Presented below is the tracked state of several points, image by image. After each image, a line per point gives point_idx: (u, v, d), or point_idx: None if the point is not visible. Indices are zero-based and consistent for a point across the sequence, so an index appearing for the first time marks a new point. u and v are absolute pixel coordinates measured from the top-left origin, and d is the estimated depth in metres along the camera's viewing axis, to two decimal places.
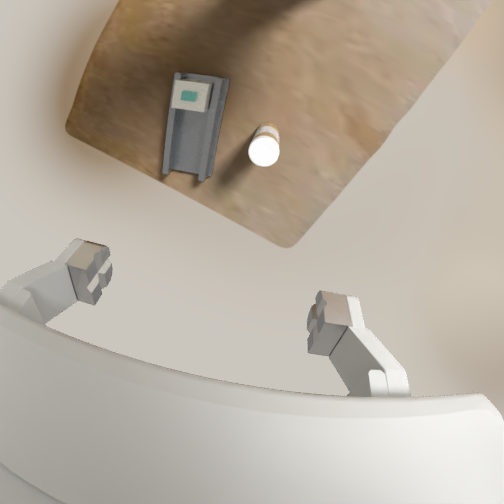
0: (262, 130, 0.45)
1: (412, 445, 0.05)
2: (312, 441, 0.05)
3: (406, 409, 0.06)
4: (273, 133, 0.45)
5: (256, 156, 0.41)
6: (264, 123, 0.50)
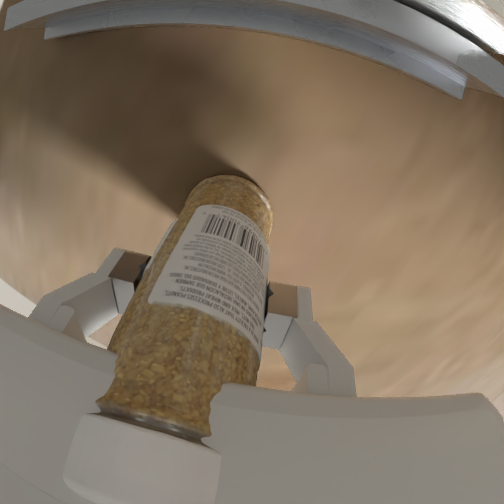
0: (261, 314, 0.08)
1: (412, 445, 0.05)
2: (312, 441, 0.05)
3: (406, 409, 0.06)
4: None
5: None
6: (270, 208, 0.14)
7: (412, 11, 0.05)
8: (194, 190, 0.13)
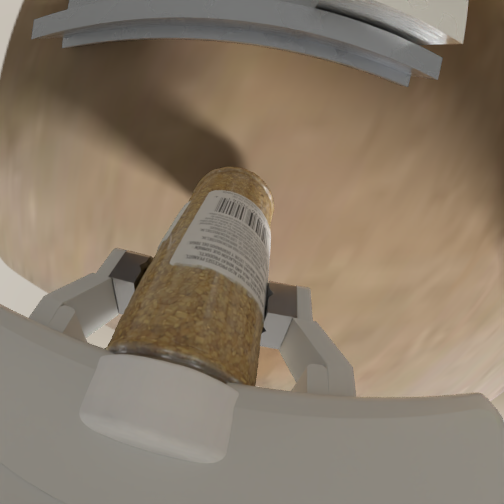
0: (265, 285, 0.10)
1: (412, 445, 0.05)
2: (312, 441, 0.05)
3: (406, 409, 0.06)
4: None
5: None
6: (272, 200, 0.15)
7: (352, 20, 0.08)
8: (203, 179, 0.15)
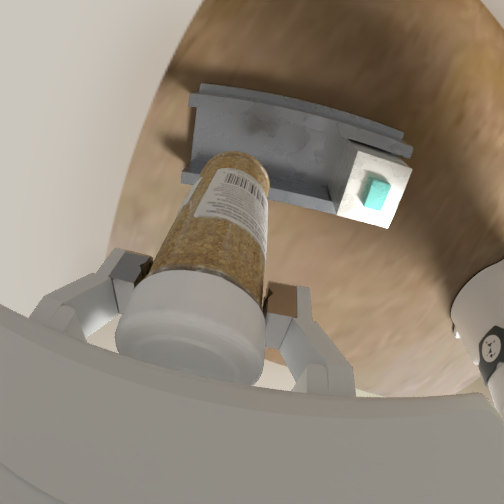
0: (265, 237, 0.12)
1: (412, 445, 0.05)
2: (312, 441, 0.05)
3: (406, 409, 0.06)
4: None
5: (158, 346, 0.07)
6: (268, 178, 0.18)
7: None
8: (210, 161, 0.17)
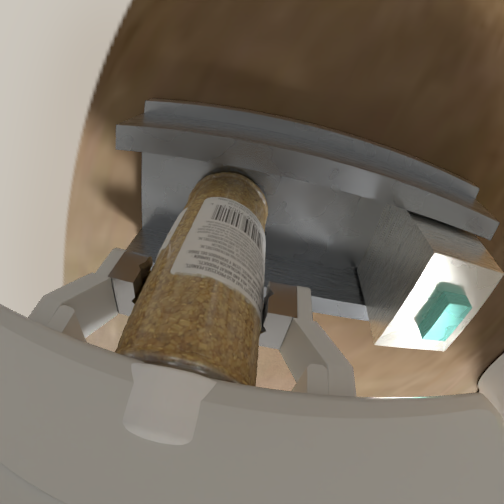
0: (261, 289, 0.10)
1: (412, 445, 0.05)
2: (312, 441, 0.05)
3: (406, 409, 0.06)
4: None
5: None
6: (266, 204, 0.15)
7: None
8: (198, 184, 0.15)
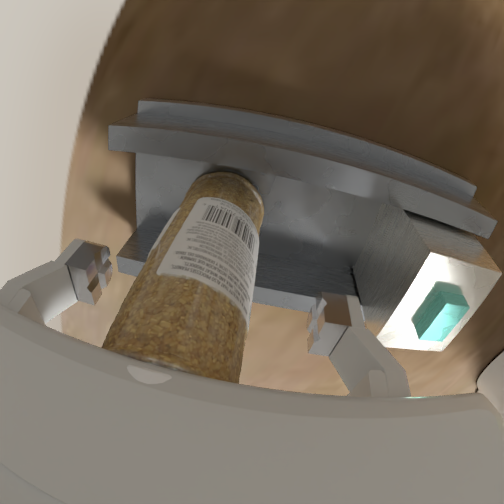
0: (250, 291, 0.10)
1: (412, 445, 0.05)
2: (312, 441, 0.05)
3: (406, 409, 0.06)
4: None
5: None
6: (262, 204, 0.15)
7: None
8: (194, 184, 0.15)
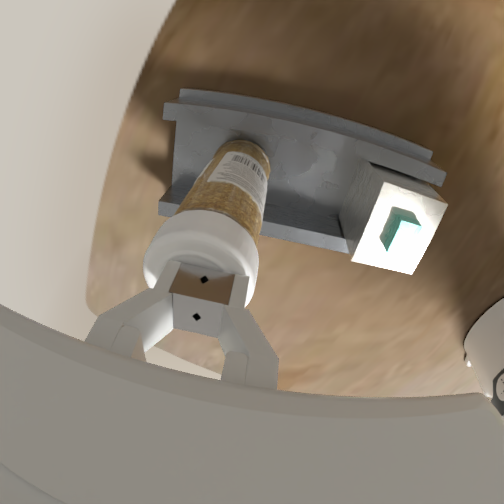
0: (262, 202, 0.16)
1: (412, 445, 0.05)
2: (312, 441, 0.05)
3: (406, 409, 0.06)
4: None
5: None
6: (269, 163, 0.21)
7: None
8: (220, 148, 0.20)
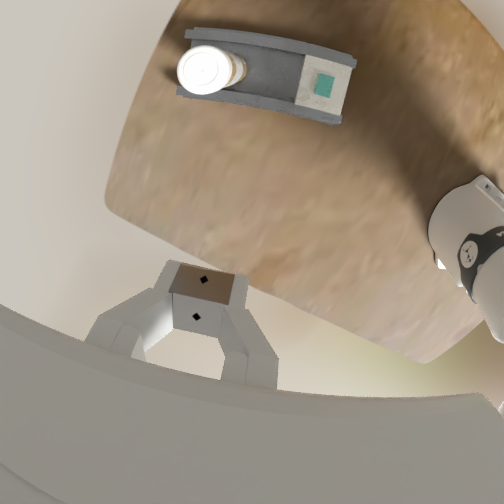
0: (238, 64, 0.25)
1: (412, 445, 0.05)
2: (312, 441, 0.05)
3: (406, 409, 0.06)
4: (233, 80, 0.26)
5: (194, 59, 0.20)
6: (245, 64, 0.30)
7: (306, 106, 0.30)
8: None
